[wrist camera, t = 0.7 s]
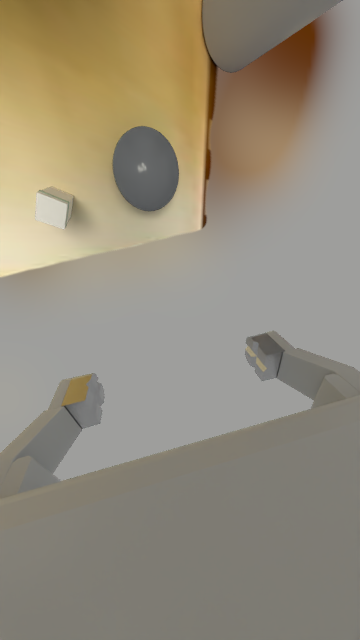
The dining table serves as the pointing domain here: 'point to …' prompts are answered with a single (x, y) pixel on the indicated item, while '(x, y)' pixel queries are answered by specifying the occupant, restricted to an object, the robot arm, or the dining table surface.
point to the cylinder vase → (254, 27)
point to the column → (53, 207)
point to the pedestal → (145, 168)
